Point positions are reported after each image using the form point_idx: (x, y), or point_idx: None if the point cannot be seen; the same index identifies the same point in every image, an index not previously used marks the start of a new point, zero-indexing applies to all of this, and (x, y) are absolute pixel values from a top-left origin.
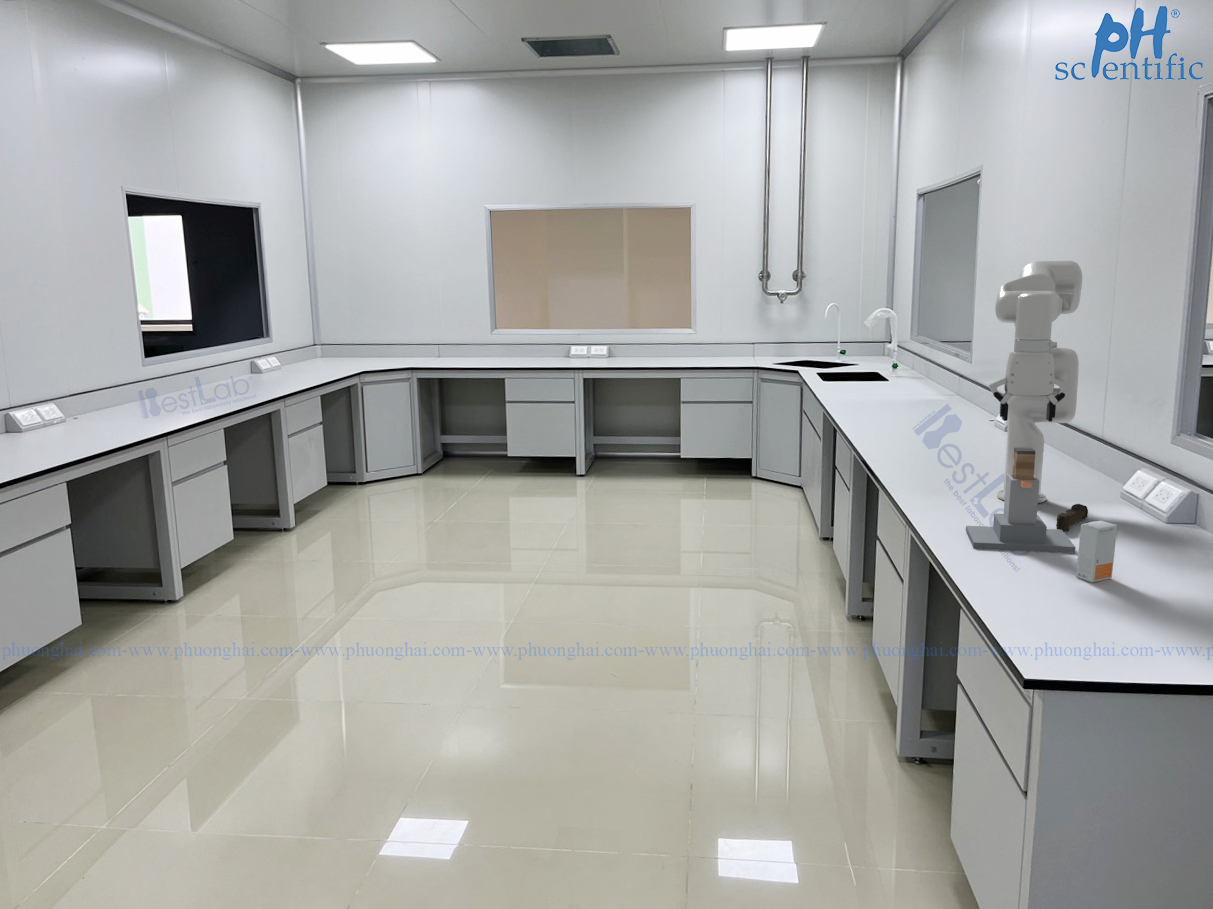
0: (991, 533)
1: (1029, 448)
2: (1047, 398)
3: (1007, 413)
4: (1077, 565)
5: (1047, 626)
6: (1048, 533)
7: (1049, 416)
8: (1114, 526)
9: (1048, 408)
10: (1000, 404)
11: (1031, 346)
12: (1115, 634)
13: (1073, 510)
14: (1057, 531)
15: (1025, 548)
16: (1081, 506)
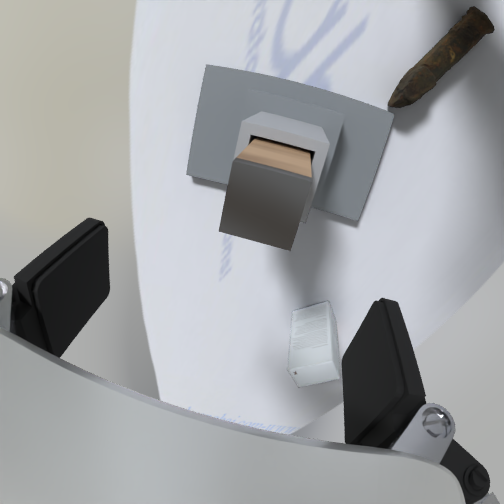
0: (238, 120)
1: (292, 194)
2: (390, 445)
3: (86, 319)
4: (291, 322)
5: (200, 392)
6: (355, 133)
7: (344, 383)
8: (333, 379)
9: (363, 401)
10: (14, 290)
11: None
12: (248, 410)
13: (462, 41)
14: (379, 124)
15: None
16: (486, 24)
